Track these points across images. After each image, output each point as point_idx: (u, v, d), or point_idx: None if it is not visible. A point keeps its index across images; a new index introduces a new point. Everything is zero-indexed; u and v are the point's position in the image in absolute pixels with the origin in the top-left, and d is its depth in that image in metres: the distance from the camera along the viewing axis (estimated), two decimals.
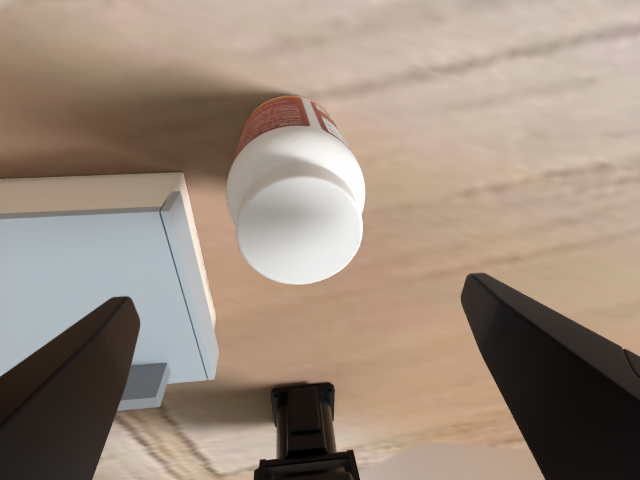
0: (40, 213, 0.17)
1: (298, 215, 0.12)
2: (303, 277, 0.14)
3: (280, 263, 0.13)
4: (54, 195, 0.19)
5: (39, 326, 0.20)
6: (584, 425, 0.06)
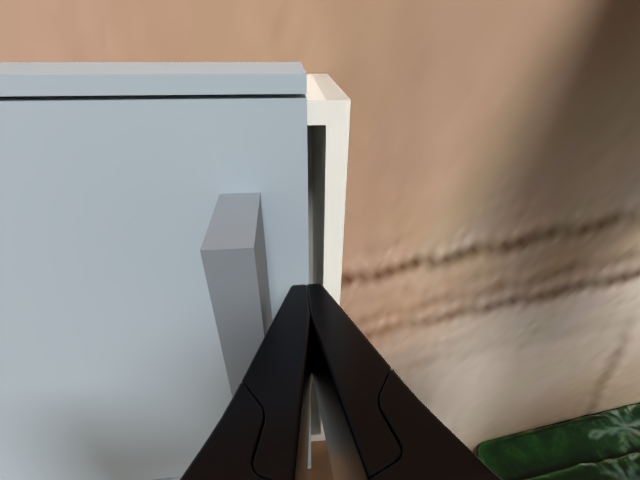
0: None
1: None
2: None
3: None
4: None
5: (124, 368, 0.12)
6: (341, 451, 0.06)
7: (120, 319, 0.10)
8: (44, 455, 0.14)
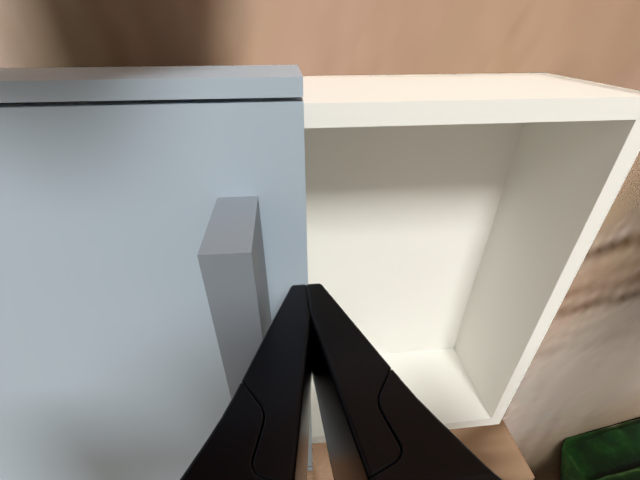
0: None
1: None
2: None
3: None
4: None
5: (124, 372, 0.12)
6: (342, 451, 0.06)
7: (120, 324, 0.10)
8: (45, 459, 0.14)
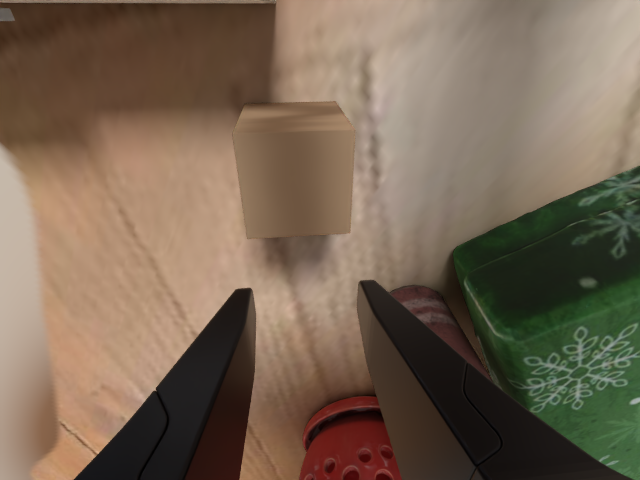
0: None
1: None
2: None
3: None
4: None
5: None
6: (422, 442, 0.06)
7: None
8: None
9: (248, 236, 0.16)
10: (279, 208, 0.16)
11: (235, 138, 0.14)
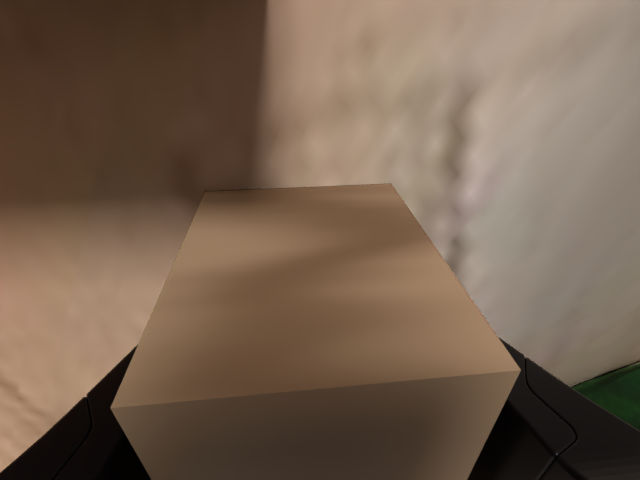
0: None
1: None
2: None
3: None
4: None
5: None
6: None
7: None
8: None
9: None
10: None
11: (125, 416, 0.04)
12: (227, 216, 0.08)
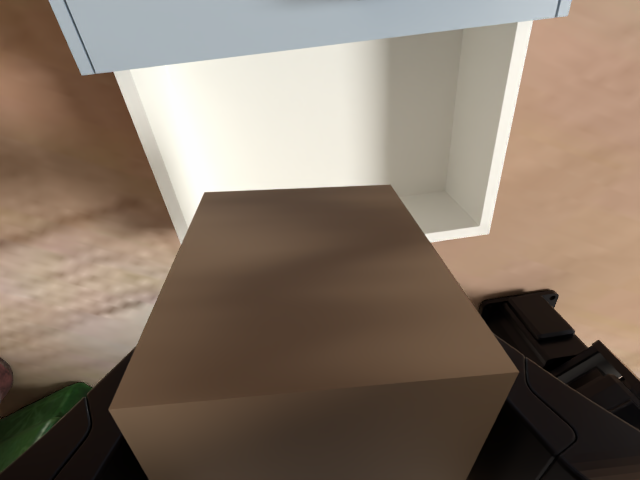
0: None
1: None
2: None
3: None
4: None
5: None
6: None
7: None
8: None
9: None
10: None
11: (123, 417, 0.04)
12: (226, 217, 0.08)
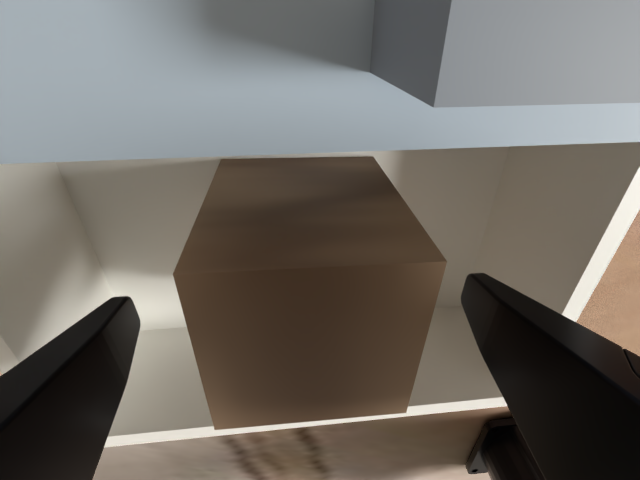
0: None
1: None
2: None
3: None
4: None
5: None
6: (584, 425, 0.06)
7: None
8: None
9: (216, 426, 0.09)
10: (276, 387, 0.08)
11: (181, 282, 0.06)
12: (240, 175, 0.10)
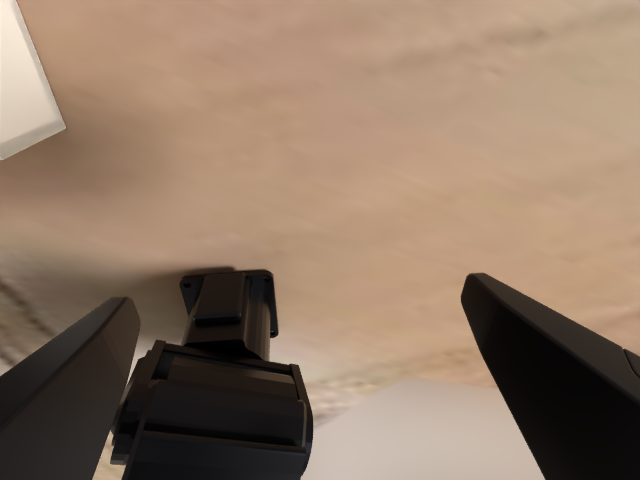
0: None
1: None
2: None
3: None
4: None
5: None
6: (584, 425, 0.06)
7: None
8: None
9: None
10: None
11: None
12: None
